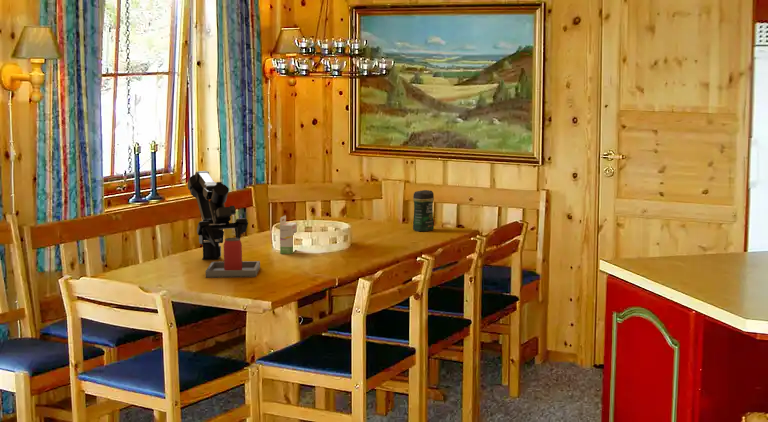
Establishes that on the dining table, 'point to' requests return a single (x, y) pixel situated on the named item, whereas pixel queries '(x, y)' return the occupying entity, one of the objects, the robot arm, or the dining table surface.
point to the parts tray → (247, 270)
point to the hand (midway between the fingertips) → (227, 244)
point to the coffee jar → (423, 210)
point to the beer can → (232, 254)
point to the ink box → (286, 236)
